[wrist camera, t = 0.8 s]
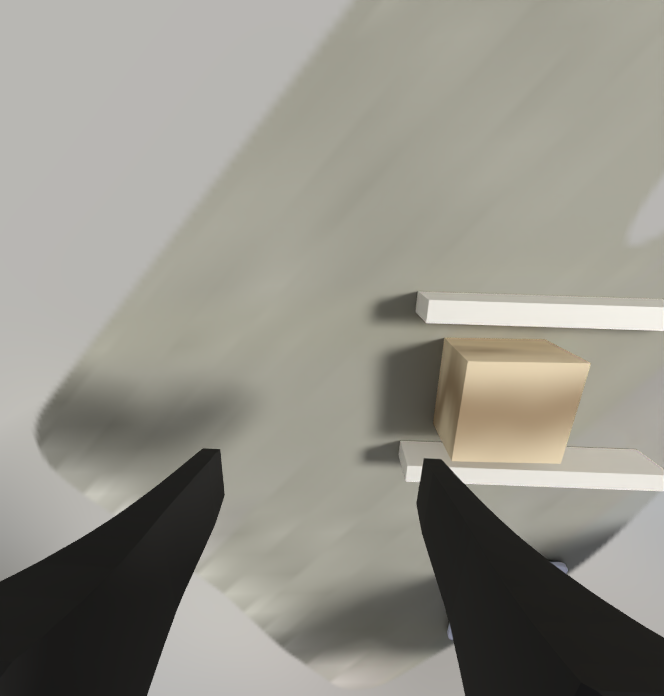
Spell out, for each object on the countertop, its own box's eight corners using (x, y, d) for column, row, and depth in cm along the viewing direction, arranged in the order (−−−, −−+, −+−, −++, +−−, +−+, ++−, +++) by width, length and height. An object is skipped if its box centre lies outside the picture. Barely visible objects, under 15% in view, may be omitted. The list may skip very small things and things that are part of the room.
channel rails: (630, 463, 22) (665, 491, 20) (398, 455, 22) (405, 481, 20) (699, 300, 18) (752, 310, 16) (417, 291, 19) (429, 299, 16)
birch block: (522, 423, 22) (560, 463, 18) (432, 421, 22) (451, 461, 18) (542, 338, 20) (591, 363, 16) (443, 336, 20) (467, 361, 16)
